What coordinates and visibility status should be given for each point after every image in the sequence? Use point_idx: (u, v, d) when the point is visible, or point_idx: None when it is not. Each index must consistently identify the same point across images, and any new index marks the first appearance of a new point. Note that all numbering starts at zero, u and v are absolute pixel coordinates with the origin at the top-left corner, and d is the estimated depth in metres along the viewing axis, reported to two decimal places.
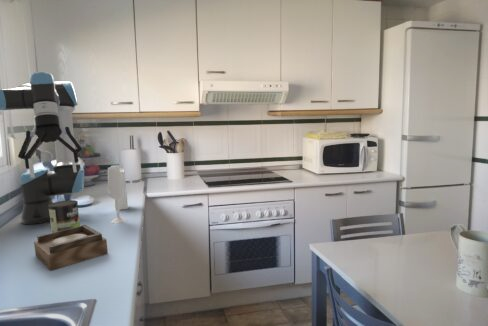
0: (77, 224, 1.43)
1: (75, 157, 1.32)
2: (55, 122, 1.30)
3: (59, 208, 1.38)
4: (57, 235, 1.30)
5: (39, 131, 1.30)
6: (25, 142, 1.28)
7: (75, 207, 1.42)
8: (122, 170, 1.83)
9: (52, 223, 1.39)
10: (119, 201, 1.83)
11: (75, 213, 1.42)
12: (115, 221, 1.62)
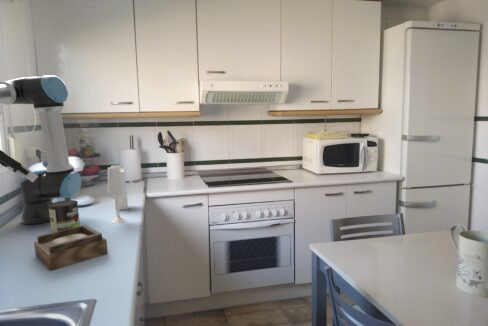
0: (77, 224, 1.43)
1: (21, 172, 1.25)
2: None
3: (59, 208, 1.38)
4: (57, 235, 1.30)
5: None
6: None
7: (75, 207, 1.42)
8: (122, 170, 1.83)
9: (52, 223, 1.39)
10: (119, 201, 1.83)
11: (75, 213, 1.42)
12: (115, 221, 1.62)
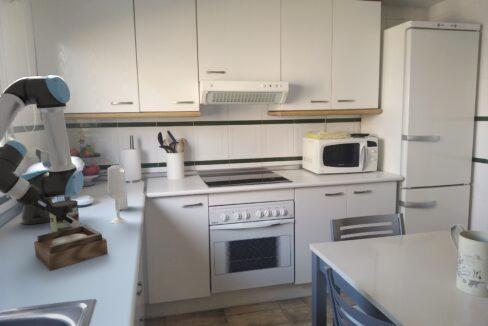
0: None
1: (66, 221, 1.38)
2: (28, 203, 1.32)
3: (59, 208, 1.38)
4: (57, 235, 1.30)
5: None
6: None
7: (75, 207, 1.42)
8: (122, 170, 1.83)
9: (52, 223, 1.39)
10: (119, 201, 1.83)
11: (75, 213, 1.42)
12: (115, 221, 1.62)
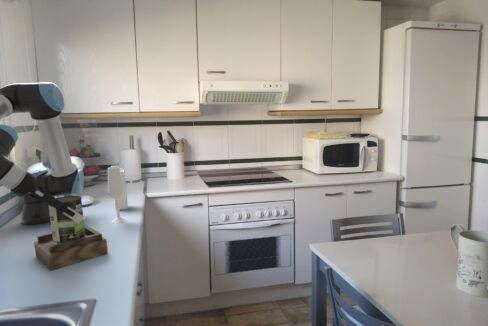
0: (81, 223, 1.24)
1: (67, 214, 1.18)
2: (24, 193, 1.13)
3: None
4: None
5: None
6: None
7: (79, 204, 1.23)
8: (122, 170, 1.83)
9: (52, 222, 1.21)
10: (119, 201, 1.83)
11: (79, 211, 1.23)
12: (115, 221, 1.62)
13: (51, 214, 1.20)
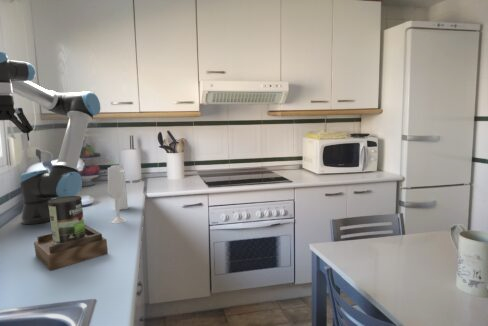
0: (81, 223, 1.24)
1: None
2: None
3: (61, 205, 1.19)
4: None
5: None
6: None
7: (79, 204, 1.23)
8: (122, 170, 1.83)
9: (52, 222, 1.21)
10: (119, 201, 1.83)
11: (79, 211, 1.23)
12: (115, 221, 1.62)
13: (51, 214, 1.20)
